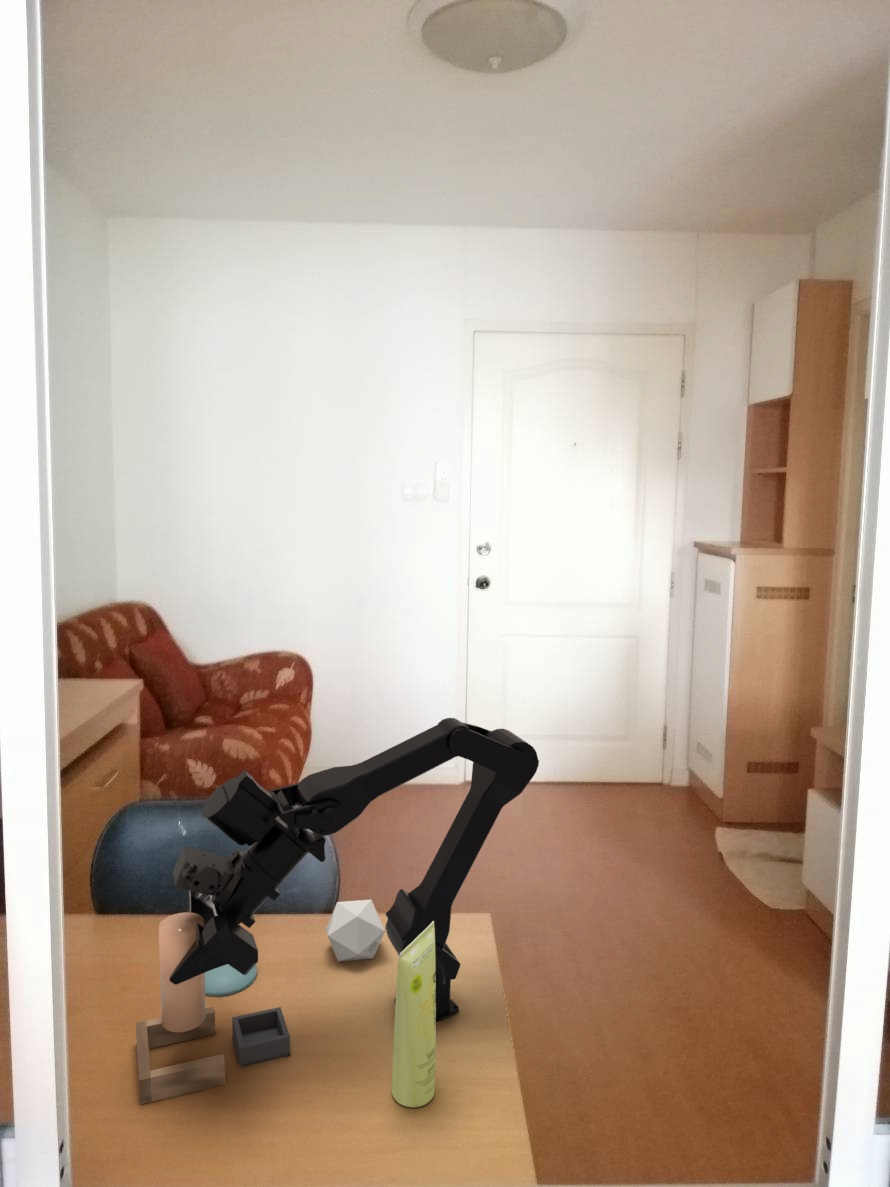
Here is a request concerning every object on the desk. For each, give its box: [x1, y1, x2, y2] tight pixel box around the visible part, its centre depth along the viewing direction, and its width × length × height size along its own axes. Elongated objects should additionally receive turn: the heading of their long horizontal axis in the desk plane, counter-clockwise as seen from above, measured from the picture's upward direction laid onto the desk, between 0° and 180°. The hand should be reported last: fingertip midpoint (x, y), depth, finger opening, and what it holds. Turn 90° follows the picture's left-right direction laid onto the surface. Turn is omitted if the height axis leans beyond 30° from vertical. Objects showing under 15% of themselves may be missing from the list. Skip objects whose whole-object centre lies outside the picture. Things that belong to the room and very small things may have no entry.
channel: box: [135, 1006, 226, 1106], centre depth 99 cm, size 9×10×3 cm
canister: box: [158, 911, 207, 1032], centre depth 98 cm, size 5×5×12 cm
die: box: [325, 899, 386, 962], centre depth 122 cm, size 8×9×10 cm
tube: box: [391, 921, 437, 1108], centre depth 94 cm, size 6×5×20 cm
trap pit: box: [231, 1006, 291, 1068], centre depth 103 cm, size 6×6×2 cm
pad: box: [205, 963, 258, 997], centre depth 116 cm, size 9×9×1 cm
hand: (170, 968), depth 97 cm, fingers closed on canister, 5 cm apart
